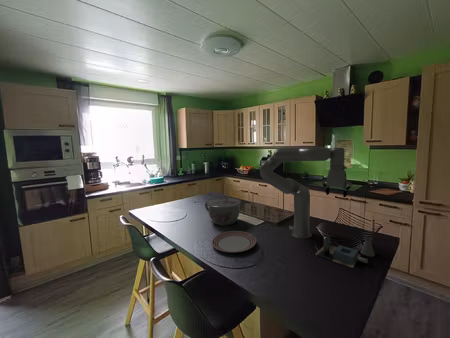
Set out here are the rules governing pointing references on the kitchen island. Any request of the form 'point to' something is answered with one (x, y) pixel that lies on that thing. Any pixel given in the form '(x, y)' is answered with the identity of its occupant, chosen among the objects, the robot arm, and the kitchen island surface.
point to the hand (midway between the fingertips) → (336, 195)
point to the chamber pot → (223, 210)
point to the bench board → (335, 259)
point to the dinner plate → (234, 241)
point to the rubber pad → (325, 256)
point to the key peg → (326, 246)
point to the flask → (367, 247)
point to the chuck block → (347, 255)
